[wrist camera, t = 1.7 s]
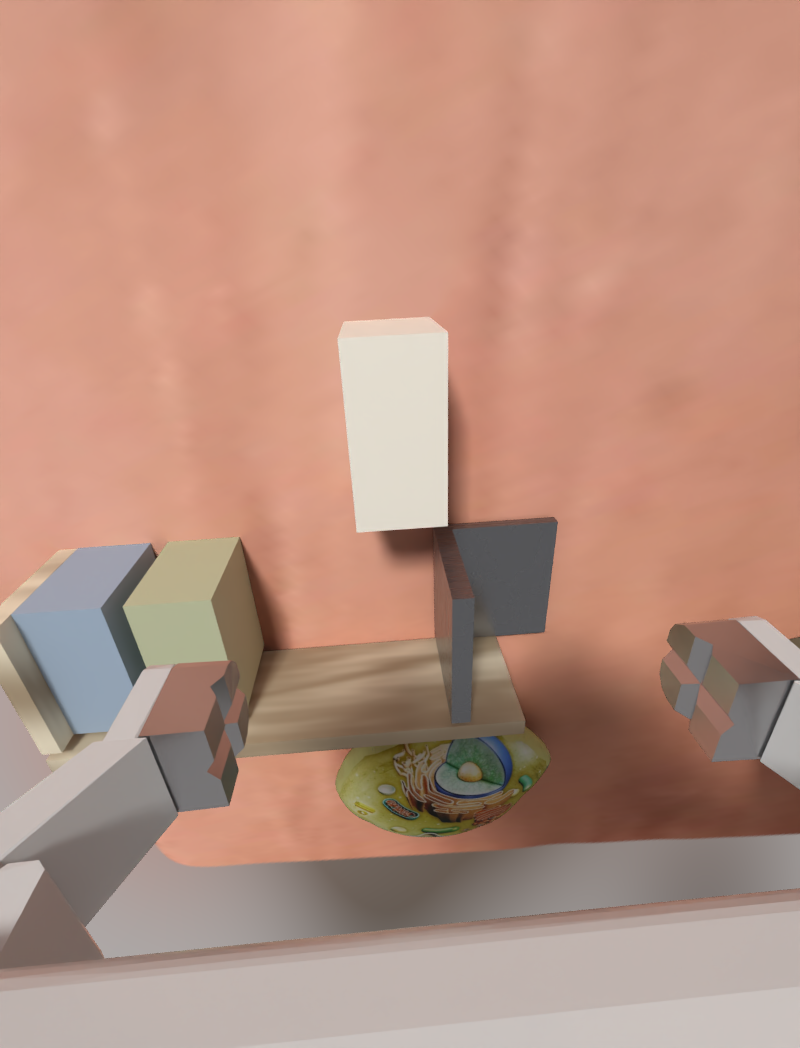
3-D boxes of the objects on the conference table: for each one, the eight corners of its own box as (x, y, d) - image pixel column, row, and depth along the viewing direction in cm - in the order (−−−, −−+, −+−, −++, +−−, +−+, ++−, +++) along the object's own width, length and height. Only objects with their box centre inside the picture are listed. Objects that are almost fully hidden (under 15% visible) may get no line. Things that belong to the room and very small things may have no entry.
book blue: (78, 547, 28) (10, 614, 22) (151, 542, 28) (100, 608, 22) (123, 654, 31) (73, 734, 26) (186, 649, 31) (150, 728, 26)
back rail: (59, 549, 27) (-30, 632, 21) (501, 519, 28) (539, 590, 22) (113, 674, 32) (53, 773, 26) (494, 645, 33) (524, 733, 27)
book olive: (168, 541, 28) (122, 606, 22) (239, 536, 28) (210, 599, 23) (201, 648, 31) (169, 726, 26) (264, 643, 32) (244, 720, 26)
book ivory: (344, 321, 23) (337, 338, 18) (429, 316, 23) (448, 331, 18) (358, 479, 27) (356, 532, 21) (431, 474, 27) (447, 526, 22)
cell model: (317, 739, 33) (541, 776, 28) (362, 674, 39) (549, 694, 34) (340, 858, 36) (547, 912, 30) (379, 779, 42) (554, 812, 37)
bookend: (433, 525, 28) (452, 599, 22) (554, 517, 28) (607, 587, 22) (434, 634, 32) (451, 723, 26) (541, 626, 32) (583, 712, 26)
